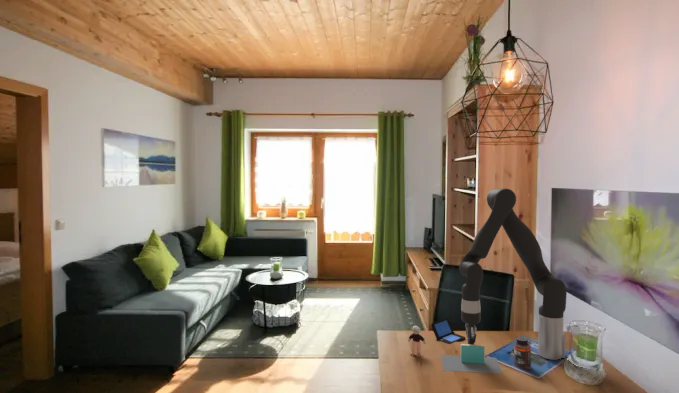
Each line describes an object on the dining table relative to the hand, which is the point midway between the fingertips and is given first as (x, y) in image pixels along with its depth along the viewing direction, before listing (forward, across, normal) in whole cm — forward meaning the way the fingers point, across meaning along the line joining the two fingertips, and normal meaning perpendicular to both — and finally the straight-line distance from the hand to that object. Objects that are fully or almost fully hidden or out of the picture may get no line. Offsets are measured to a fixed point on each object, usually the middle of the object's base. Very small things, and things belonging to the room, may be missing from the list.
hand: (470, 350), depth 171 cm
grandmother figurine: (+4, +1, +22) cm, 22 cm away
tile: (+3, -4, 0) cm, 5 cm away
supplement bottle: (+4, -4, -19) cm, 20 cm away
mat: (+4, -6, +1) cm, 7 cm away
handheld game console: (+4, +20, +8) cm, 22 cm away
